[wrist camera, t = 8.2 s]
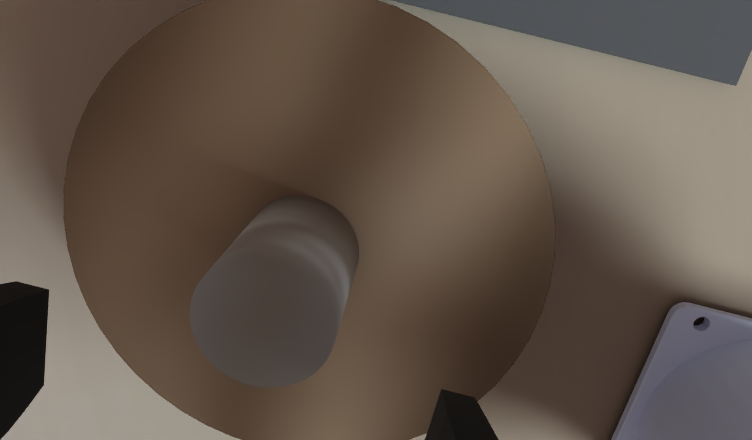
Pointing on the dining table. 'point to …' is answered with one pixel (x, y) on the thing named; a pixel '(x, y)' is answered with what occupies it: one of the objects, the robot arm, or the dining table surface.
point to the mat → (629, 28)
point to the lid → (308, 218)
